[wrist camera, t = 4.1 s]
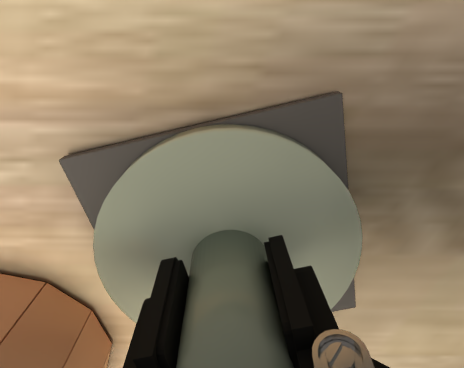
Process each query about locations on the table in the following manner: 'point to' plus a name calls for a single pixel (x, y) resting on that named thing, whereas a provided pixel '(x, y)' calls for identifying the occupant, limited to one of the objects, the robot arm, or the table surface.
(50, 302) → the bowl
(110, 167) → the mat
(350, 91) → the table surface
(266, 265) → the lid
